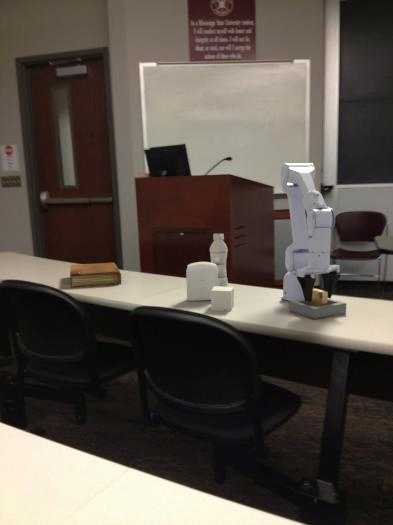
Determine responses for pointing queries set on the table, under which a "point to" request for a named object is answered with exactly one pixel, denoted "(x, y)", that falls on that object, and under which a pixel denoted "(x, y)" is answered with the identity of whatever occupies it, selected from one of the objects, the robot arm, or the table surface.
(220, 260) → the plastic bottle
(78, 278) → the diary
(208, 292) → the photo printer
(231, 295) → the off-white cube
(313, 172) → the robot arm
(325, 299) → the yellow block
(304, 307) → the grey well
